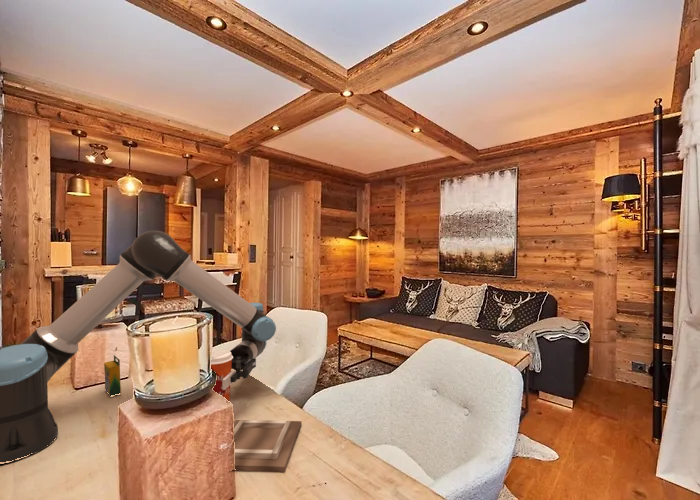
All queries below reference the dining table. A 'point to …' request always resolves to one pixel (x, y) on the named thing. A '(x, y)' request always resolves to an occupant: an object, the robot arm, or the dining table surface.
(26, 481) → the dining table surface
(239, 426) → the walnut board
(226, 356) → the coffee cup
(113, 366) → the crayon box
